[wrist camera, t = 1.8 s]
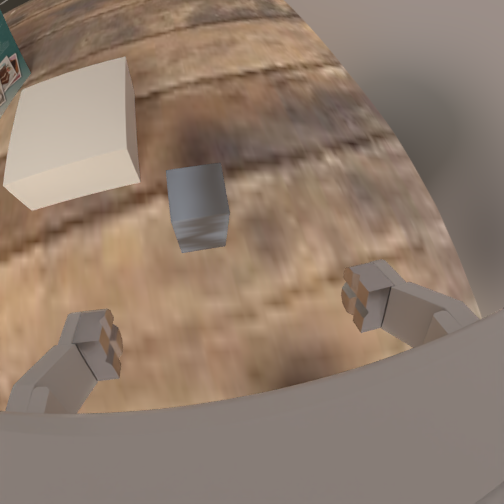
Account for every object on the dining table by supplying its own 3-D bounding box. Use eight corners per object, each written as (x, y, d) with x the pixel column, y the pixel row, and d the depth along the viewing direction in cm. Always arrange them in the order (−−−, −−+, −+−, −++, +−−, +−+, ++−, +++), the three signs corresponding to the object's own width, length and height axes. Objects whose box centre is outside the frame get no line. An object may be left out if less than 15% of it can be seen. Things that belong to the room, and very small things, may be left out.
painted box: (32, 211, 35) (3, 185, 27) (41, 121, 39) (22, 89, 31) (140, 183, 38) (126, 148, 30) (134, 94, 41) (125, 56, 34)
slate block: (181, 252, 36) (171, 221, 26) (176, 212, 37) (165, 170, 27) (225, 246, 37) (229, 212, 27) (218, 206, 38) (220, 162, 28)
